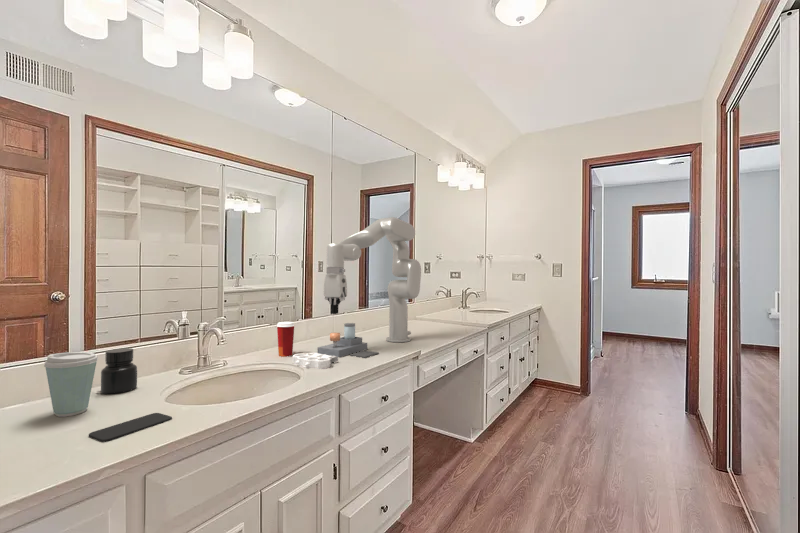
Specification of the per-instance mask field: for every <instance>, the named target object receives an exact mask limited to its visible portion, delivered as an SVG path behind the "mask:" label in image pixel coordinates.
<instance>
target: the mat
mask: <svg viewBox="0 0 800 533" xmlns="http://www.w3.org/2000/svg"><path fill="white" fill-rule="evenodd" d="M379 354H380V353H379V352H377V351H371V350H370V351H369V350H364V351H360V352H357V353H353V354H350V355H349V356H350V357H353V356H356V357H355V358H360V357H362V359H367V358H370V356H371V357H375V356H377V355H379Z"/></svg>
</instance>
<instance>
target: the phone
mask: <svg viewBox="0 0 800 533" xmlns="http://www.w3.org/2000/svg"><path fill="white" fill-rule="evenodd" d="M172 420H173V417H172V416H170V415H166V414H164V413H160V412H154V413H153V412H152V413H150V414H146V415H143V416H140V417H137V418H134V419H130V420H126V421H123V422H120V423H117V424H114V425H110V426H108V427H104V428H101V429H98V430H95V431H92V432H89V433H88V438H90V439H92V440H96V441H97V442H101V443H107V442H112V441H114V440H117V439H120V438H123V437H126V436H128V435H132V434H135V433H137V432H140V431H143V430H146V429H149V428H151V427H155V426H158V425H161V424H163V423H166V422H169V421H172Z"/></svg>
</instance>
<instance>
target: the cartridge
mask: <svg viewBox="0 0 800 533" xmlns="http://www.w3.org/2000/svg"><path fill="white" fill-rule="evenodd" d="M343 324H344V325H343V328H344V329H343V337H344V339H349V340H352V339H355V337H356V323H354V322H347V323H343Z"/></svg>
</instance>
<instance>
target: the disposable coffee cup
mask: <svg viewBox="0 0 800 533" xmlns="http://www.w3.org/2000/svg"><path fill="white" fill-rule="evenodd" d="M98 361H99V358H98V355H97V354H96V353H94V352H90V351H89V352H87V351H86V352H84V351H82V352H81V351H77V352H76V351H73V352H71V351H70V352H69V351H68V352H59V353H58V352H57V353H51V354H49V355H47V359H46V360H45V361H44V365H43V367H44V368H45V372H46V379H47V383H48V389H49V395H50V400H51V405H52V411H53V414H54V416H56V417H58V418H59V417H63V418H65V417H70V416H71V417H72V416H75V415H80V414H82V413H84V412H86V411H87V408H88V407H89V402H90V398H91V393H92V388H93V383H94V378H95V372H96V368H97V362H98Z"/></svg>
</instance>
